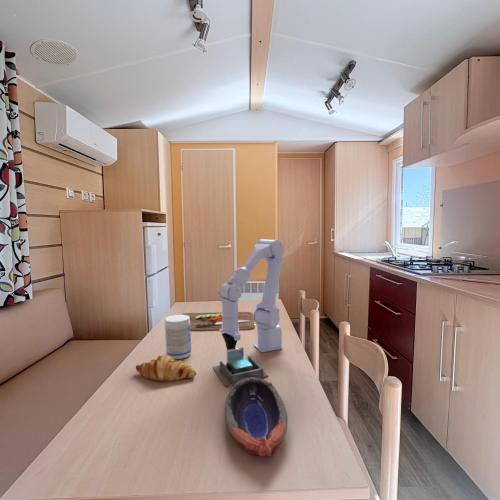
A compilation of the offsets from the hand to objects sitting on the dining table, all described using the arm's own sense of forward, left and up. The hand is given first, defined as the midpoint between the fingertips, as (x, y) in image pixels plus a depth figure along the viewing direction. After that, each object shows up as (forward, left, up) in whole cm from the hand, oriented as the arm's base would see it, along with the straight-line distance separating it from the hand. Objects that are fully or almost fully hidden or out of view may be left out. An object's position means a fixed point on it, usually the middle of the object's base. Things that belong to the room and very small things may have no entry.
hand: (230, 352), depth 112 cm
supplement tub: (+17, -14, -4) cm, 22 cm away
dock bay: (0, +9, -3) cm, 9 cm away
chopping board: (-8, -47, -4) cm, 48 cm away
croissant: (+24, +1, -4) cm, 24 cm away
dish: (+6, +35, -4) cm, 35 cm away
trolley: (0, +9, -3) cm, 10 cm away
